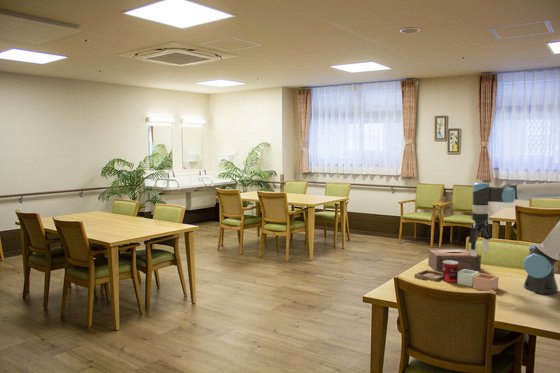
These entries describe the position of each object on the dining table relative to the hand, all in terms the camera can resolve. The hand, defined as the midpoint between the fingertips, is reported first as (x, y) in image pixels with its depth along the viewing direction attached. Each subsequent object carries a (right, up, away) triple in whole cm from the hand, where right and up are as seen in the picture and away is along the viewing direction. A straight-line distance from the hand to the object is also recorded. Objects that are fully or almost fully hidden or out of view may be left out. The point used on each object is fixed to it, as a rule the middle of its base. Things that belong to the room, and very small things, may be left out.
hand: (479, 253), depth 246 cm
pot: (+2, -18, -2) cm, 18 cm away
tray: (-19, -16, +19) cm, 31 cm away
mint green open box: (-3, -17, +7) cm, 19 cm away
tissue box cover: (+1, -15, +38) cm, 41 cm away
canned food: (-11, -17, +12) cm, 23 cm away
